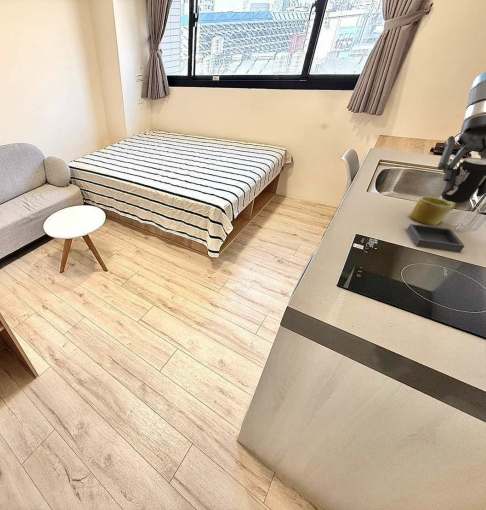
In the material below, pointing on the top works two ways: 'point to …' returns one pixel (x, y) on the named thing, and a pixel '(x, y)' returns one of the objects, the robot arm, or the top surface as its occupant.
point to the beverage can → (467, 180)
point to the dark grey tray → (435, 238)
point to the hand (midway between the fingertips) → (464, 192)
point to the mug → (431, 210)
